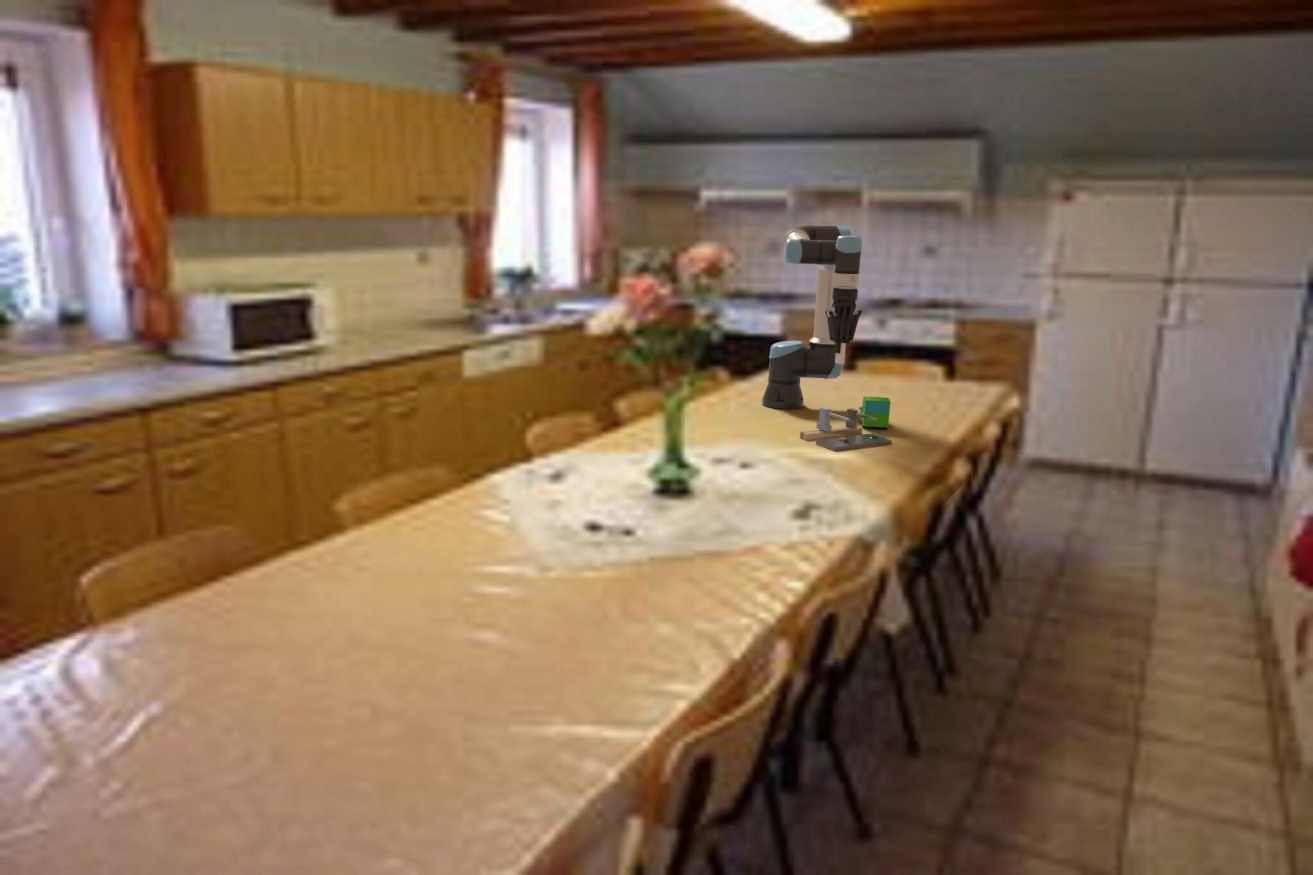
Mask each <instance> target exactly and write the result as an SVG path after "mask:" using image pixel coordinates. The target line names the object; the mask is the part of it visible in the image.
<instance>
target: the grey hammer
mask: <svg viewBox="0 0 1313 875" xmlns="http://www.w3.org/2000/svg"><path fill="white" fill-rule="evenodd" d="M831 410H832V409H831V408H828V407H824V406H822V407H819V416H818V418H819V419H818V421H817V422H816V430H823V431H826V432H829V431H831V428H833V425H832V424H831V417H833V418H836V419H839V420H842V421H844V422H846V421H850V419H849V418H847V416H846V417H845V416H843V415H839V414H837V413H833V412H831Z"/></svg>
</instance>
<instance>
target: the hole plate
mask: <svg viewBox="0 0 1313 875" xmlns="http://www.w3.org/2000/svg"><path fill="white" fill-rule="evenodd" d="M815 444H816V445H817V446H820V447H823V448H825V449H828V450H830V451H834V452H838V451H844V450H853V449H860V448H859V447H862V448H867V447H875V446H874V445H877V446H883V445H884V444H885V445H890V444H891V445H892V444H893V439H890V438H887V437H885V436H882V435H878V434H875V433H874V432H873V433H865V434H864V433H862V434H854V435H846V436H838V437H829V438H821V439H815Z"/></svg>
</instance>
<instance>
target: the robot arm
mask: <svg viewBox="0 0 1313 875" xmlns="http://www.w3.org/2000/svg"><path fill="white" fill-rule="evenodd" d="M862 241H863V239H862V237H861V236H859V235H852V232H851V229H849V228H848V227H846V226H838V225H810V224H809V225H801V226H798V227H797V226H796V227H794V228H792V229H789V230H788V231H787V232H785V234H784V235H783V237H782V241H781V244H782V245H781V246H782V249H783V251H784V261H785V263H787V264H793V265H814V266H815V268H816V269H817V282H816V297H815V308H814V312H815V313H814V321H813V322H814V323H813V325H814V326H813V336H812V337H811V338H810V339H809V340H808V345H804V343H803V342H802V341H801V340H786V341H784V340H783V341H779V342H775V343H773V344H771V346H770V351H769V356H768V358H769V365H768V366H769V367H768V378H767V379H768V380H767V385H766V388H765V391H764V394H763V396H762V397H761V398H762V399H761V404H762V405H763V406H765V407H768V408H773V409H782V410H794V409H801V408H803V407H804V402H805V401H804V396H803V392H802V388H801V379H802V378H803V379H804V378H805V379H806V378H807V379H824V380H828V379H829V380H830V379H831V380H832V379H833V380H835V379H837V378H839V377H840V376H841V374H842V370H843V368H844V365H845V362H846V361H845V359H846V354H847V352H848V344H850V343H851V341H853V340H854V337H855V334H856V330H857V327H858V323H859V319H860V317H861V314H862V313H863V310H862V309H860V308H857V303H856V301H857V300H858V293H859V289H858V288H859V284H860V283H859V282H860V268H861V258H862V257H861V256H862V250H863V245H862V244H863V243H862ZM857 287H858V288H857Z"/></svg>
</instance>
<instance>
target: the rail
mask: <svg viewBox="0 0 1313 875" xmlns="http://www.w3.org/2000/svg"><path fill="white" fill-rule="evenodd" d="M858 417H859V418H860V417H863V418H866V419H869V420H872V421H877V420H878V419H877V418H873V417H870V416H867V415H864V414H861V413H860V412H859V410H858V409H856V408H852V407H851V408H847V409H846V418H849V419H850V421H845V426H840V427H832V428H831V431H829V432H826V431H823V430H820V429H814V430H804V431H800V432H799V433H800V434H799V438H800V439H801V440H804V441H811V440H821V439H829V438H838V437H846V436H854V435H860V434H859V433H861V434H863V426H859V425H858Z"/></svg>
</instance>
